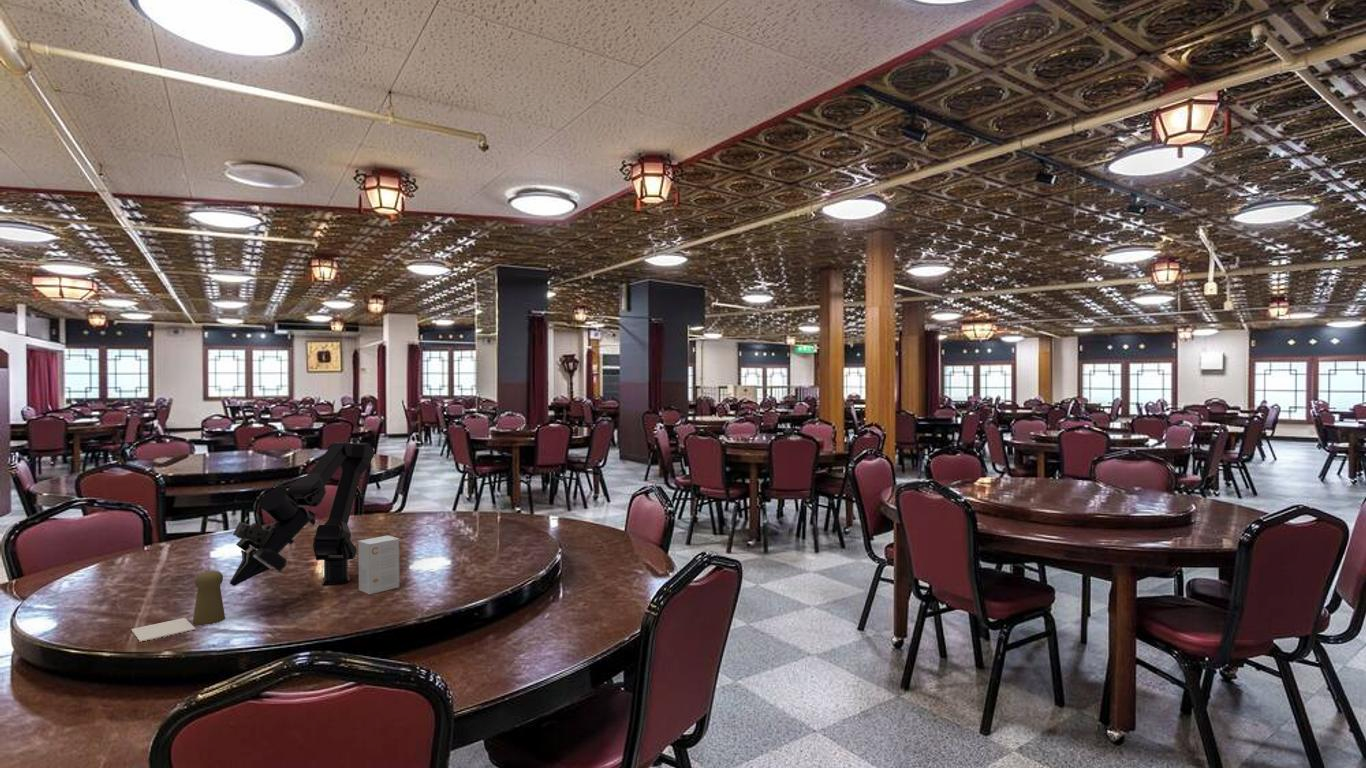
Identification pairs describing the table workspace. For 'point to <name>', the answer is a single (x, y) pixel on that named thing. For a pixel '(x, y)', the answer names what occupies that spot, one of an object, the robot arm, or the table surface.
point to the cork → (208, 598)
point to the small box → (378, 564)
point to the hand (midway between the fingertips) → (231, 584)
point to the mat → (162, 629)
